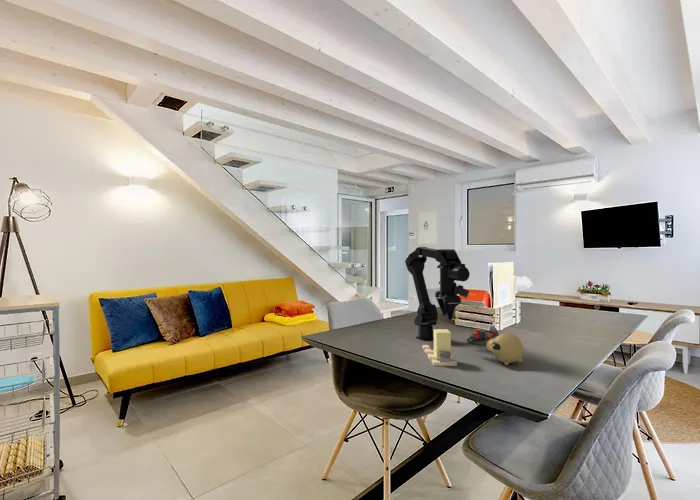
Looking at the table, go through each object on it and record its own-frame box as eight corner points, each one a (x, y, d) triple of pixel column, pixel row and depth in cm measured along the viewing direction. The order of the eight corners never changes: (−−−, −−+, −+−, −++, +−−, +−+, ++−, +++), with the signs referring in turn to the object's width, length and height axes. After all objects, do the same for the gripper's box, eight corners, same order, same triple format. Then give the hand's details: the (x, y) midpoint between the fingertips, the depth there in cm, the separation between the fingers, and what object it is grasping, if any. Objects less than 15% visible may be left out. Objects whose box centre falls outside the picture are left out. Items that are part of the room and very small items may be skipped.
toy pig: (482, 358, 126) (482, 329, 126) (515, 358, 126) (515, 329, 126) (493, 367, 116) (493, 336, 116) (528, 367, 116) (528, 336, 116)
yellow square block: (433, 355, 125) (433, 329, 126) (447, 355, 125) (447, 329, 125) (436, 359, 120) (436, 332, 121) (450, 359, 120) (450, 332, 120)
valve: (458, 341, 158) (489, 335, 160) (487, 362, 132) (523, 355, 134) (456, 328, 157) (487, 322, 159) (485, 346, 132) (521, 339, 133)
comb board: (422, 347, 140) (422, 337, 140) (442, 347, 140) (441, 337, 140) (433, 365, 118) (433, 353, 118) (456, 365, 118) (456, 353, 118)
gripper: (474, 281, 131) (474, 322, 131) (460, 277, 149) (460, 313, 149) (445, 281, 131) (445, 322, 131) (434, 277, 150) (435, 313, 150)
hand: (447, 317), depth 140 cm, fingers open, 9 cm apart
